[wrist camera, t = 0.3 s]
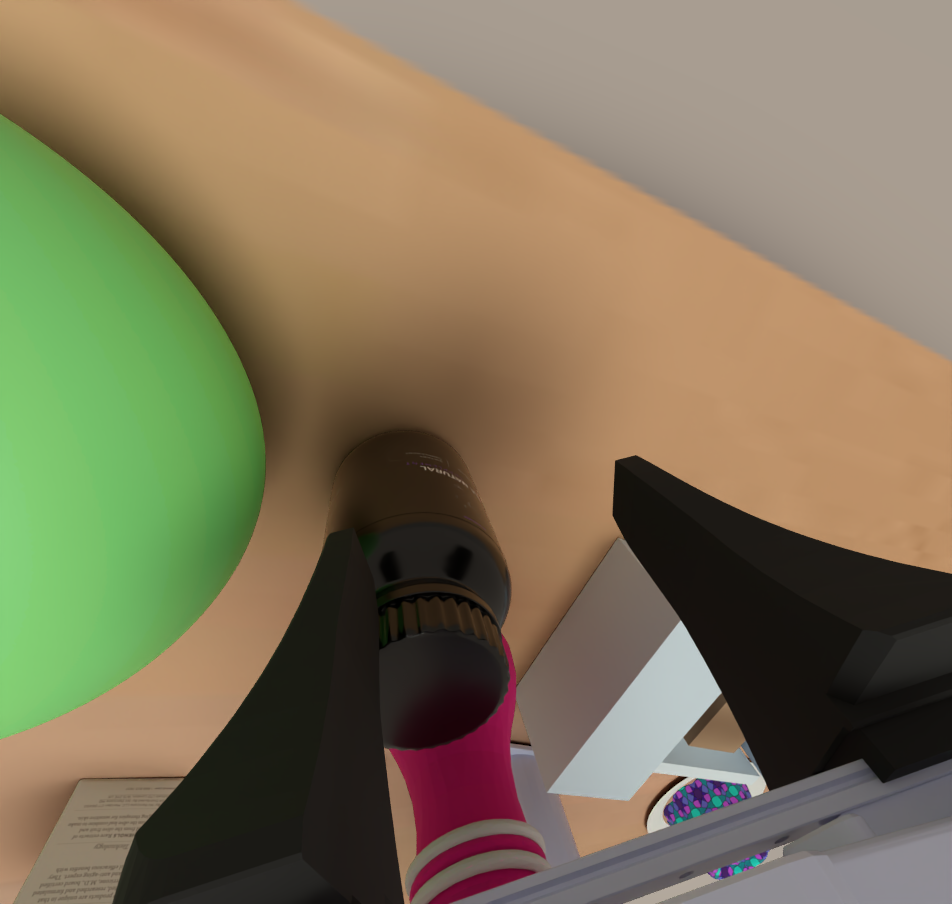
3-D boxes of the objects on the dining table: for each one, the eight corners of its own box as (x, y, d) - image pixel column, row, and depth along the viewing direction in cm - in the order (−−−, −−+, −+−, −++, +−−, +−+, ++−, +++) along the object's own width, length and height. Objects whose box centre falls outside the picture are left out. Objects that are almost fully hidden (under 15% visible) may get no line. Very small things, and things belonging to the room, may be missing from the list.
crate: (694, 697, 33) (733, 753, 30) (652, 688, 32) (688, 745, 28) (729, 655, 32) (774, 709, 29) (687, 644, 31) (729, 698, 27)
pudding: (669, 849, 47) (702, 917, 43) (622, 804, 42) (655, 876, 37) (773, 787, 47) (819, 849, 42) (740, 733, 41) (788, 797, 36)
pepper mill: (505, 566, 27) (766, 1187, 10) (477, 660, 30) (642, 1279, 12) (378, 560, 25) (412, 1329, 8) (360, 661, 28) (356, 1404, 10)
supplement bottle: (471, 422, 23) (563, 586, 13) (466, 539, 26) (538, 754, 15) (324, 427, 22) (286, 618, 11) (335, 551, 25) (315, 797, 14)
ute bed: (702, 738, 39) (760, 826, 34) (504, 704, 32) (535, 807, 27) (828, 596, 35) (919, 668, 29) (630, 519, 28) (699, 595, 22)
